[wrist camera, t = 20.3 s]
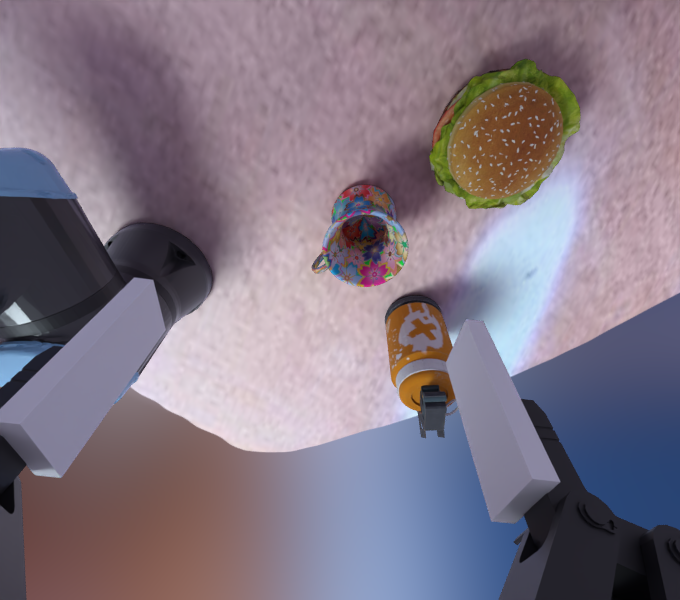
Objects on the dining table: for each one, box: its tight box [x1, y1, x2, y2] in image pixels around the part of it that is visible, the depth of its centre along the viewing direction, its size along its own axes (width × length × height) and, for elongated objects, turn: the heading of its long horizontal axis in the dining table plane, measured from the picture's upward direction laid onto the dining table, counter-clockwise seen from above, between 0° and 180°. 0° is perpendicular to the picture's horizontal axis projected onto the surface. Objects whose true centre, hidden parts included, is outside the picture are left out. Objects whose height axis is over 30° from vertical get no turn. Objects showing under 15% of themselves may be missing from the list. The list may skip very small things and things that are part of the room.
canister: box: [385, 296, 459, 438], centre depth 47 cm, size 9×11×20 cm
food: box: [429, 59, 580, 209], centre depth 35 cm, size 14×14×8 cm
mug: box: [312, 185, 408, 287], centre depth 41 cm, size 12×9×11 cm
